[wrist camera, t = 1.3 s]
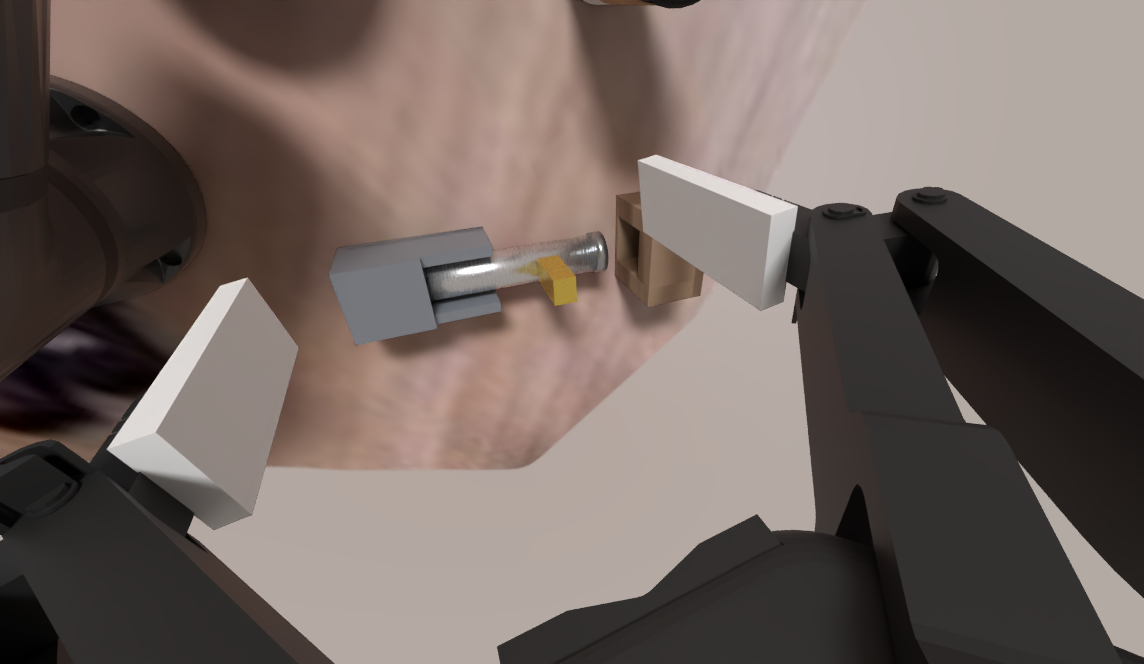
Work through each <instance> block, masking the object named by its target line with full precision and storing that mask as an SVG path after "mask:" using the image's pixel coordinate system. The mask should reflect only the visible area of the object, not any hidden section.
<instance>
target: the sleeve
mask: <svg viewBox="0 0 1144 664" xmlns="http://www.w3.org/2000/svg"><path fill="white" fill-rule="evenodd" d="M490 256H493V251H492V245H491V243H490V241H489V239H488V237H487V235H486V233H485V231H484V229H483V227H476V228H469V229H463V230H456V231H449V232H442V233H435V234H429V235H422V236H415V237H408V238H401V239H395V240H388V241H381V242H374V243H367V244H361V245H354V246H347V247H340V248H337V251H336V254H335V257H334V260H333V263H332V266H331V269H330V272H329V278H330V280H331V283H332V285H333V288H334V290H335V293H336V296H337V298H338V301H339V303H340V306H341V308H342V311H343V314H344V316H345V319H346V321H347V324H348V326H349V329H350V332H351V334H352V337H353V339H354V342H355V344H356V345H359V344H364V343H369V342H374V341H379V340H384V339H389V338H394V337H399V336H404V335H409V334H414V333H419V332H424V331H428V330H433V329H437V324H441V323H446V322H451V321H456V320H461V319H466V318H471V317H476V316H481V315H486V314H491V313H496V312H501V311H502V310H501V304H500V300H499V298H498V296H497V293H496V291H495V289H494V290H489V291H484V292H478V293H473V294H467V295H462V296H457V297H451V298H446V299H441V300H435V301H431V300H430V296H429V292H428V288H427V284H426V280H425V276H424V272H423V268H424V267H430V266H436V265H442V264H448V263H454V262H460V261H466V260H472V259H478V258H484V257H490Z"/></svg>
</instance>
